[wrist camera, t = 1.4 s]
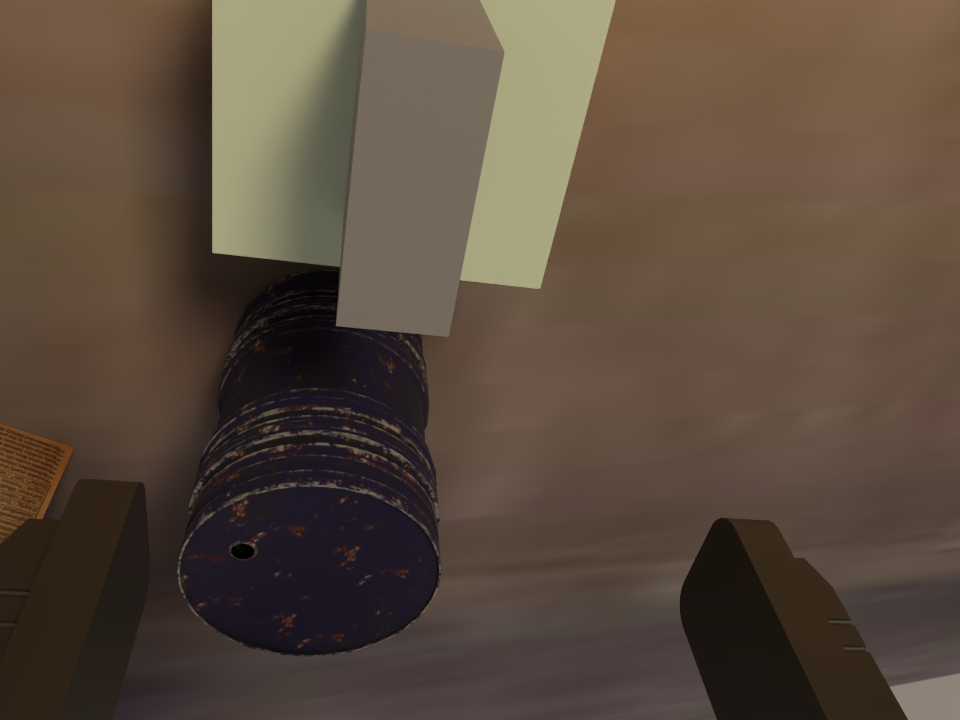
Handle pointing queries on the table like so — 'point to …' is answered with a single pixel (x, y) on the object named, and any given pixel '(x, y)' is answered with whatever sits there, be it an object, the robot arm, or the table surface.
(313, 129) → the lid
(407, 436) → the dark blue cylinder
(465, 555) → the table surface
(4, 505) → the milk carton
